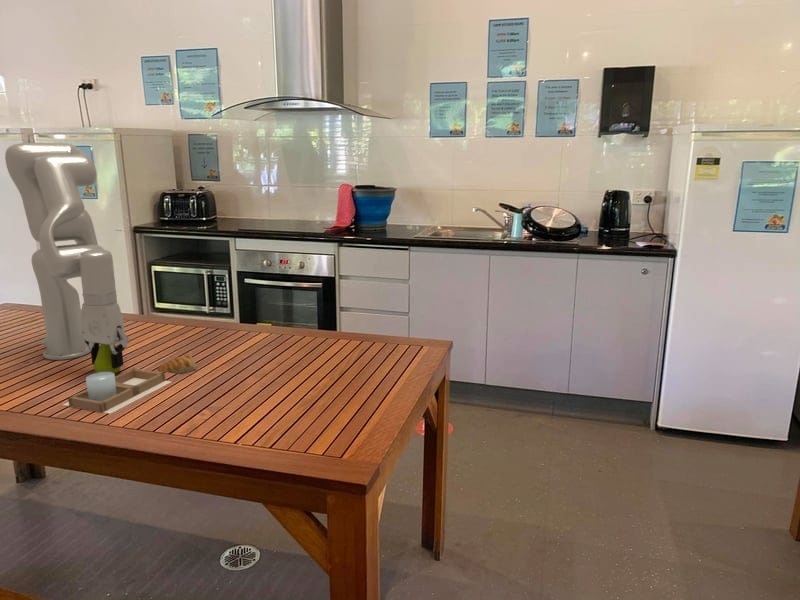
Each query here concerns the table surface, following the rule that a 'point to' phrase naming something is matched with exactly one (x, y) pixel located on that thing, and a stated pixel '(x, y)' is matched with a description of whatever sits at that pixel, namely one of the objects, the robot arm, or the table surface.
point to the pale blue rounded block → (101, 386)
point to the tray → (122, 391)
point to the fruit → (104, 360)
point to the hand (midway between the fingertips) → (107, 364)
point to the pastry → (178, 365)
